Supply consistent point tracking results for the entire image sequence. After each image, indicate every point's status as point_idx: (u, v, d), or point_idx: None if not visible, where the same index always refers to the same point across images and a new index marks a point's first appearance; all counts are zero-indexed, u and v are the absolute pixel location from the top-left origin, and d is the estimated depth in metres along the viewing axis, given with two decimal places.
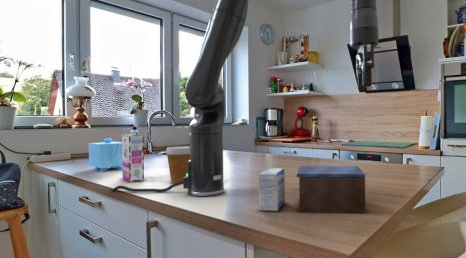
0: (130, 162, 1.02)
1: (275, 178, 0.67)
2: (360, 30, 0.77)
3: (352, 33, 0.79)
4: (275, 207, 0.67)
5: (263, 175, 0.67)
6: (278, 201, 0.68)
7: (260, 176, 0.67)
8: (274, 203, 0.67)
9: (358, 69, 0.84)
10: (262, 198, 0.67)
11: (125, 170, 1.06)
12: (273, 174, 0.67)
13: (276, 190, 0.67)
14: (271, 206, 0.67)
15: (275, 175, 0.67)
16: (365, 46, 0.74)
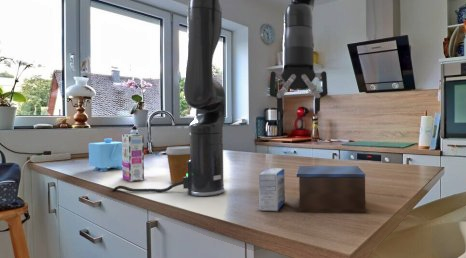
0: (130, 162, 1.02)
1: (275, 178, 0.67)
2: None
3: None
4: (275, 207, 0.67)
5: (263, 175, 0.67)
6: (278, 201, 0.68)
7: (260, 176, 0.67)
8: (274, 203, 0.67)
9: None
10: (262, 198, 0.67)
11: (125, 170, 1.06)
12: (273, 174, 0.67)
13: (276, 190, 0.67)
14: (271, 206, 0.67)
15: (275, 175, 0.67)
16: None
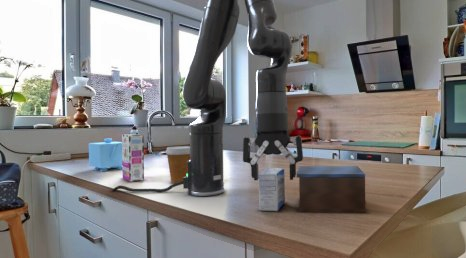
0: (130, 162, 1.02)
1: (275, 178, 0.67)
2: None
3: None
4: (275, 207, 0.67)
5: (263, 175, 0.67)
6: (278, 201, 0.68)
7: (260, 176, 0.67)
8: (274, 203, 0.67)
9: None
10: (262, 198, 0.67)
11: (125, 170, 1.06)
12: (273, 174, 0.67)
13: (276, 190, 0.67)
14: (271, 206, 0.67)
15: (275, 175, 0.67)
16: None
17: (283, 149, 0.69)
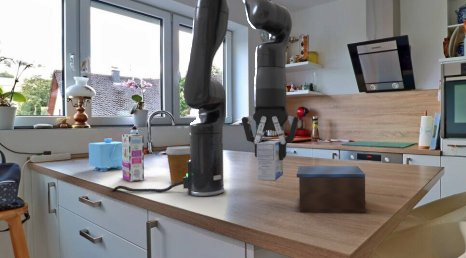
0: (130, 162, 1.02)
1: (273, 147, 0.66)
2: None
3: None
4: (273, 177, 0.66)
5: (261, 144, 0.67)
6: (276, 171, 0.67)
7: (258, 145, 0.67)
8: (272, 172, 0.66)
9: None
10: (260, 168, 0.67)
11: (125, 170, 1.06)
12: (271, 143, 0.66)
13: (274, 159, 0.66)
14: (269, 175, 0.67)
15: (273, 144, 0.66)
16: None
17: (278, 127, 0.68)
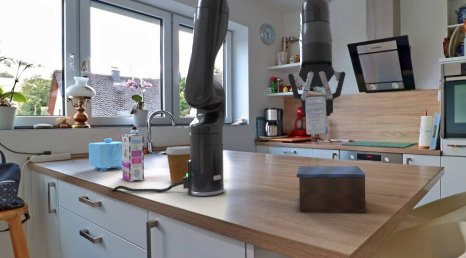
0: (130, 162, 1.02)
1: (323, 101, 0.67)
2: None
3: None
4: (323, 130, 0.67)
5: (310, 98, 0.67)
6: (325, 125, 0.68)
7: (307, 100, 0.67)
8: (322, 126, 0.67)
9: (324, 90, 0.72)
10: (310, 122, 0.67)
11: (125, 170, 1.06)
12: (321, 97, 0.67)
13: (324, 112, 0.67)
14: (319, 129, 0.67)
15: (323, 98, 0.67)
16: None
17: (325, 82, 0.69)
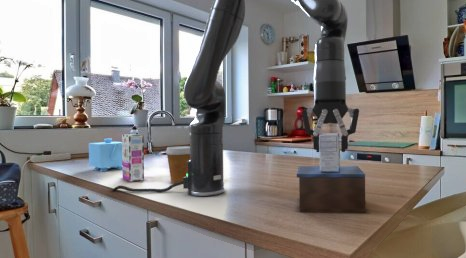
0: (130, 162, 1.02)
1: (336, 139, 0.67)
2: None
3: None
4: (336, 168, 0.67)
5: (324, 136, 0.68)
6: (338, 162, 0.68)
7: (321, 137, 0.68)
8: (335, 164, 0.67)
9: None
10: (323, 159, 0.68)
11: (125, 170, 1.06)
12: (334, 135, 0.67)
13: (337, 150, 0.67)
14: (332, 167, 0.67)
15: (336, 136, 0.67)
16: None
17: (340, 119, 0.69)
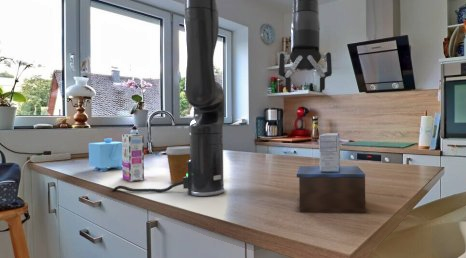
0: (130, 162, 1.02)
1: (336, 139, 0.67)
2: None
3: None
4: (336, 168, 0.67)
5: (324, 136, 0.68)
6: (338, 162, 0.68)
7: (321, 137, 0.68)
8: (335, 164, 0.67)
9: (316, 71, 0.81)
10: (323, 159, 0.68)
11: (125, 170, 1.06)
12: (334, 135, 0.67)
13: (337, 150, 0.67)
14: (332, 167, 0.67)
15: (336, 136, 0.67)
16: None
17: (315, 63, 0.78)
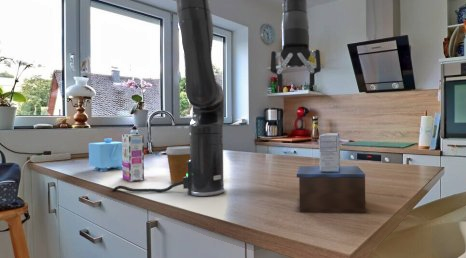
0: (130, 162, 1.02)
1: (336, 139, 0.67)
2: None
3: None
4: (336, 168, 0.67)
5: (324, 136, 0.68)
6: (338, 162, 0.68)
7: (321, 137, 0.68)
8: (335, 164, 0.67)
9: (306, 68, 0.85)
10: (323, 159, 0.68)
11: (125, 170, 1.06)
12: (334, 135, 0.67)
13: (337, 150, 0.67)
14: (332, 167, 0.67)
15: (336, 136, 0.67)
16: None
17: (304, 60, 0.82)
